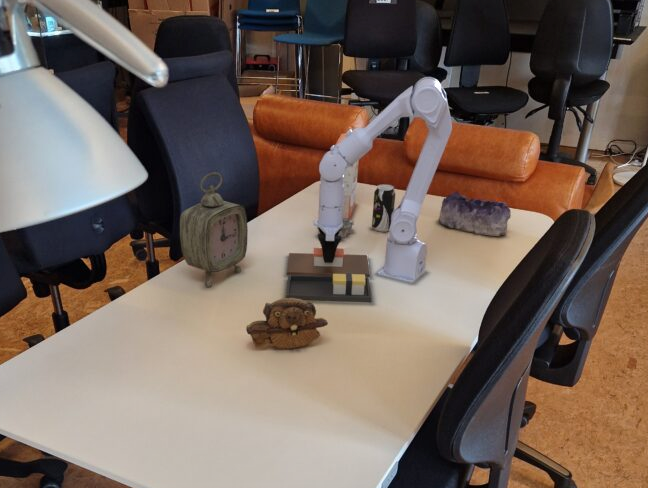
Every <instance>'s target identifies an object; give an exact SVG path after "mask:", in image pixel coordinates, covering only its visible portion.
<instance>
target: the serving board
mask: <svg viewBox="0 0 648 488" xmlns="http://www.w3.org/2000/svg"><path fill="white" fill-rule="evenodd" d="M287 262H288V263H287V268H286V270H287V271H286V276H288V275H314V276H333V274H346V273H351V274H364V275H365V277H369V279H370V278H371V271H370V263H369V255H368V254H345V253H344V258H343V265H342V267H332V266H314V257H313V253H309V252H307V253H306V252H305V253H302V252H289V253H288V260H287Z"/></svg>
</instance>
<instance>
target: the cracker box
mask: <svg viewBox="0 0 648 488" xmlns="http://www.w3.org/2000/svg"><path fill="white" fill-rule="evenodd" d="M346 136H347V135H346V133H341V134H340V136H339V138H338V139H337V141H336V143H335V144H334V145H335V146H336V145H337V144H338V143H339V142H341V141H342V140H343V139H344V138H345V137H346ZM359 160H360V159H359ZM359 160H358V161H357V162H356V163H354V164H353V165H352V166H351V167H347V168H345V172H344V179H343V184H344V196H343V215H342V218H345V219H349V220H350V218H351V216H352V213H353V211H354V208H355V206H356V197H357V186H358V175H359V174H358V173H359Z"/></svg>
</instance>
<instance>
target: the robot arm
mask: <svg viewBox="0 0 648 488" xmlns="http://www.w3.org/2000/svg"><path fill="white" fill-rule="evenodd" d="M415 113H416V114H417V115H418V116H419V117H420V118H421V119H422V120H423V121H424V123H425V125H426V128H427V129H428V132H427V135H426V137H425V140H424V143H423V145H422V148H421V151H420V153H419V156H418V158H417V161H416V163H415V166H414V169H413V171H412V174H411V176H410V179H409V182H408V184H407V187H406V189H405V192H404V194H403V196H402V198H401V201H400V202H399V204H398V206H397V207H396V208H394V211H393V213H392V215H391V225H390V228H389V232H388V234H387V235H386V245H385V256H384V267H383V268H382V269H380V270H378V271H377V275H380V276H385V277H388V278H391V279H392V278H393V279H396V280H400V281H404V282H407V283H414V282H416V280H418V279H420V278H421V276H422V275H424V274H425V273H426V261H427V254H428V246H427V244H426V243H424V242H422V241H420V240H419V239H418V237H419V236H418V235H417V232H418V227H417V225H418V224H417V223H418V219H419V216H420V214H421V209H422V206H423V203H424V201H425V198H426V196H427V194H428V191H429V189H430V186H431V184H432V181H433V179H434V176H435V174H436V171H437V169H438V167H439V164H440V162H441V158H442V156H443V154H444V151H445V148H446V147H447V144H448V141H449V139H450V136H451V134H452V132H453V122H452V121H453V120H452V118H451V117H452V116H451V112H450V107H449V103H448V98H447V92H446V91H445V89H444V87H443V86H442V84H441V82H440V81H439V79H436V78H435V77H432V76H425V77H423V78H420V79H419V80H418V81H416V83H415V84H414V86H413V85H411V86H410V87H408V88H407V89H405V90H404V91H403V92H402V93H400V94H399V95H398V96H397V97H396V98H394V100H393V101H392V102H390V103H389V104H388V105H387V106H386V107H385V108H384V109H382V111H381V112H379V113H378V115H377V116H375V118H374V119H372V120H371V121H370V122H369V123H368V124H367V125H366V126H365V127H355V128H354V129H353V130H352V129H351V128H350V129H349V130H347V131H346V133H345V134H346V135H347V136H346V137H345V138H344V139H343V140H342V141H341V142H339V143H338V144H337V145H336V144H333V145H332V146H331V147H330V148H329V149H330V150H329V151H326V152H325V153H324V155H323V156H322V158H321V160H320V162H319V165H318V170H319V175H320V177H319V181H320V184H319V189H318V191H319V193H318V194H319V195H318V218H317V219H318V220H313V227H317V226H318V229H319V231H320V234H318V233H317V239H318V241H319V243H320V246H321V248H322V251H323V259H324V262H325V263H333V260H334V257H335V252H336V249H337V248H338V246H339V245H340V243H341V241H342V239H343V237H342V236H338V234H339V232H340V230H341V228H342V226H343V222H342V215H343V196H344V184H343V179H344V172H345V168H347V167H351V166H352V165H353V164H354V163H356V162H357V161H358V160H360V159H362V158H363V157H364V156H365V155H366V154H367V153H368V152H369V151H371V150H372V149H373V145H374V143H373V142H374V140H375V139H376V138H377V137H378V136H379V135H381V134H383V132H384V131H386V130H388V128H389V127H391V126H392V125H393V124H395V123H396V122H397V121H399V120H400V119H401V118H411V117H412V118H413V117H414V116H415ZM335 145H336V146H335ZM341 238H342V239H341Z"/></svg>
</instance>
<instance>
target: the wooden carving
mask: <svg viewBox="0 0 648 488" xmlns="http://www.w3.org/2000/svg"><path fill="white" fill-rule="evenodd" d="M262 314H263V315H264V317H265V320H264V319H263V320H254V321H252V322H251V323H249V324H247V325H246V327H245V328H246V333H247V335H250V337H251V339H252V342H253V344H254V347H256V348H261V347H262V348H263V347H264V346H267V345H271V346H272V347H275V348H278V349H294V348H299V347H303V346H306V345H308V344H311V343H312V342H313V341H315V340H317V339H318V338H319V337H320V336H321V334H320V332H319V330H318V329H319V328H324V327H326V326H328V324H329V323H328V321H327V320H326V319H325V318H323V317H317V318H316V316H317V309H316V306H315V304H314V303H313V301H304V300H301V299H295V298H286V297H284V298H280V299H277V300H275V301H273V302H271V303H269V302H266V303H265V305H264V307H263V310H262Z"/></svg>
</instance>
